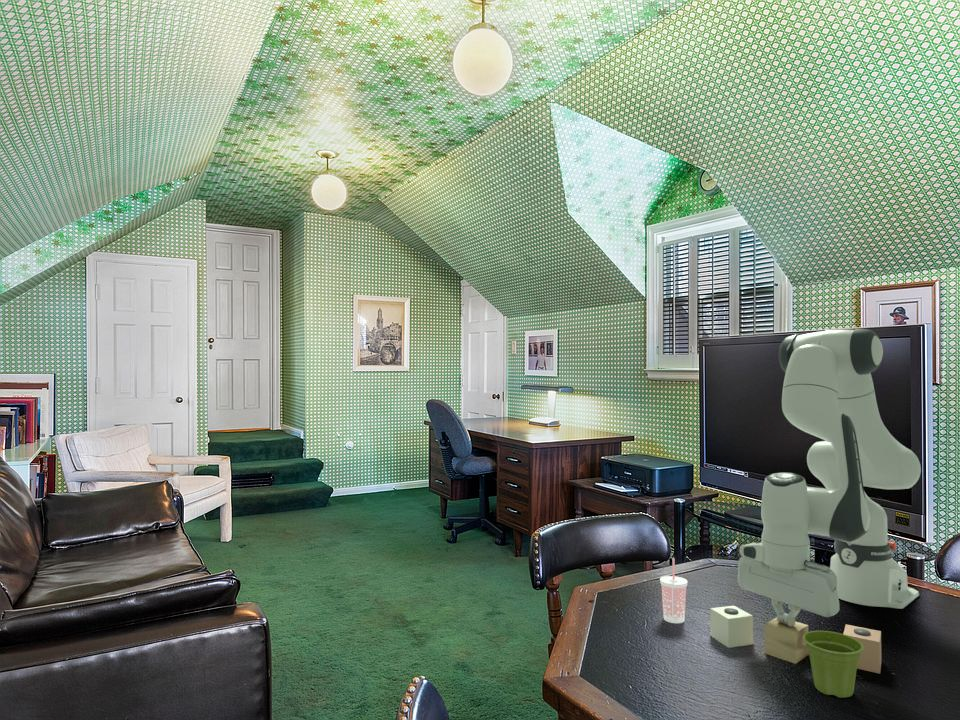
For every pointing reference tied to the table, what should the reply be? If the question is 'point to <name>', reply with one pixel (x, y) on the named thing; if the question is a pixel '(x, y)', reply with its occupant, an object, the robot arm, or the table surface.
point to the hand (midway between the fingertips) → (786, 623)
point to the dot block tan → (867, 647)
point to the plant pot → (833, 661)
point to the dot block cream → (731, 626)
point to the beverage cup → (673, 597)
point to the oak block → (785, 641)
